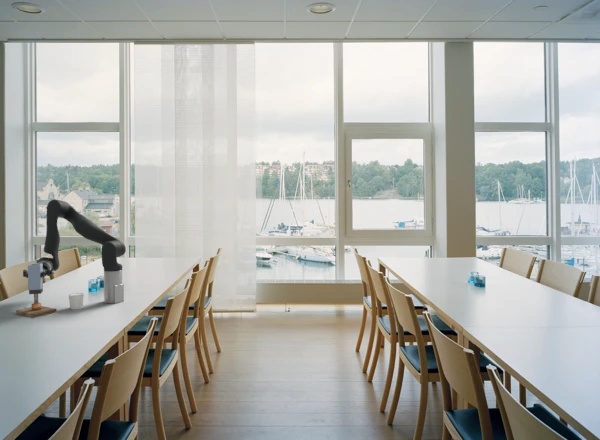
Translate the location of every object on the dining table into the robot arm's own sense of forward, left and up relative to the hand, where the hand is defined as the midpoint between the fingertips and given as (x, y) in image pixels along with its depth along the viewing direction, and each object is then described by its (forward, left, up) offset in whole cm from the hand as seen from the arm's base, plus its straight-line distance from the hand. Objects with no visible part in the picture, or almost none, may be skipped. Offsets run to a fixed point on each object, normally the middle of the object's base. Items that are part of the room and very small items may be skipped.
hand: (34, 275), depth 204 cm
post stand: (+2, -2, -19) cm, 19 cm away
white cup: (-7, -17, -19) cm, 26 cm away
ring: (+2, -2, -9) cm, 9 cm away
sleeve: (+2, -2, -7) cm, 7 cm away
